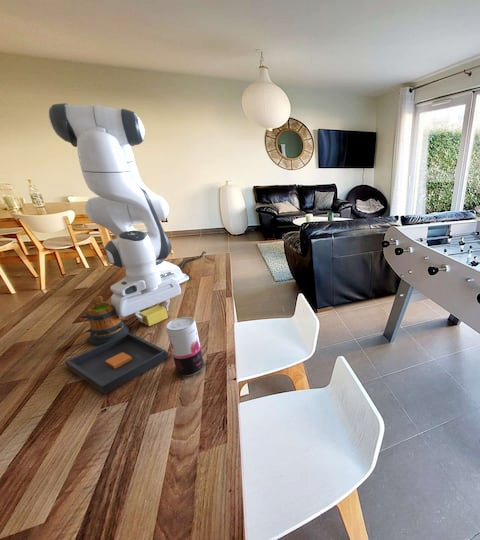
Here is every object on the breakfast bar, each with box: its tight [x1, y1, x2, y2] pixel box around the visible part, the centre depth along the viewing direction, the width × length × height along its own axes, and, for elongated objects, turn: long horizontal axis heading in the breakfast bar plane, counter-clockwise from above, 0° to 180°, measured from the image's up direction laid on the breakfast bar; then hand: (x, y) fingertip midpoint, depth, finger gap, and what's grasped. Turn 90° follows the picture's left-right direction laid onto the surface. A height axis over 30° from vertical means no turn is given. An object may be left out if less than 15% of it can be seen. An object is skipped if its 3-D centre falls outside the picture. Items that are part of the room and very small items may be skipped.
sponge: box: [139, 304, 169, 327], centre depth 100 cm, size 6×4×4 cm
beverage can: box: [165, 316, 205, 377], centre depth 77 cm, size 6×6×15 cm
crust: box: [105, 352, 132, 369], centre depth 80 cm, size 4×4×1 cm
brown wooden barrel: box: [81, 295, 130, 346], centre depth 91 cm, size 13×10×12 cm
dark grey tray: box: [64, 331, 169, 395], centre depth 80 cm, size 16×19×2 cm
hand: (154, 315), depth 100 cm, fingers closed on sponge, 6 cm apart
